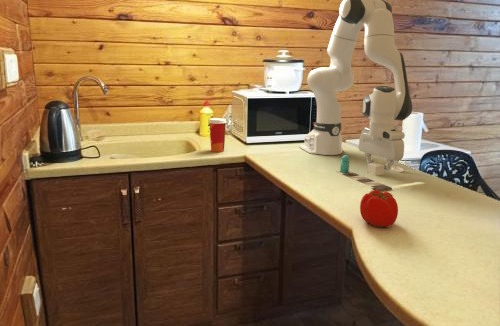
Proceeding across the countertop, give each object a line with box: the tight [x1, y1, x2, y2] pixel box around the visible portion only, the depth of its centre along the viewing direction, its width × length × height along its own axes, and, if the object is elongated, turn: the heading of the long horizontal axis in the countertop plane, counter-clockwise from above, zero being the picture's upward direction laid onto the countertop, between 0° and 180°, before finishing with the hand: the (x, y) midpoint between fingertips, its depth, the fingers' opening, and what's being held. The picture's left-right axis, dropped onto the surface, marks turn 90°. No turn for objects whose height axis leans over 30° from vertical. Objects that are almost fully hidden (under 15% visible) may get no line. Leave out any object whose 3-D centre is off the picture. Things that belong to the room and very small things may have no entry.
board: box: [335, 170, 393, 192], centre depth 148 cm, size 24×6×1 cm, turn 25°
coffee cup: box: [208, 117, 227, 153], centre depth 190 cm, size 8×8×15 cm
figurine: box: [385, 125, 405, 174], centre depth 161 cm, size 8×8×18 cm
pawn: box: [339, 154, 350, 174], centre depth 156 cm, size 3×3×7 cm
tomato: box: [359, 190, 399, 228], centre depth 109 cm, size 11×11×9 cm
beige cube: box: [366, 162, 386, 176], centre depth 156 cm, size 4×4×4 cm
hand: (378, 167), depth 155 cm, fingers open, 8 cm apart
